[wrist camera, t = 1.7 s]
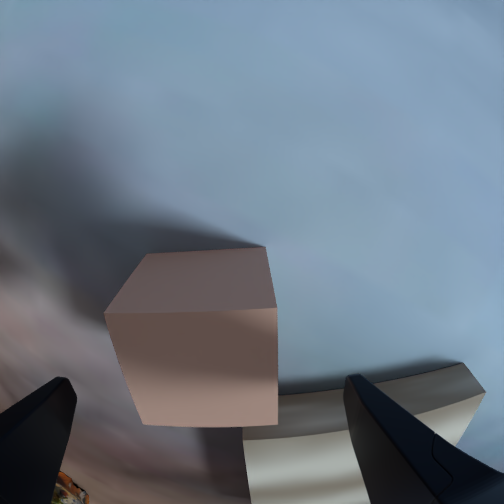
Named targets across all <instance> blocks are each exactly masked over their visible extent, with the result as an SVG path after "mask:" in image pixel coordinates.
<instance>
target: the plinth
mask: <svg viewBox="0 0 504 504" xmlns="http://www.w3.org/2000/svg"><path fill="white" fill-rule="evenodd" d="M374 385H375V386H376V387H377V388H379V389H380V390H381V391H382V392H384V393H385V394H386V395H388V396H389V397H390V398H391V399H393V400H394V401H395V402H396V403H398V404H399V405H400V406H402V407H403V408H404V409H406V410H407V411H408V412H409V413H411V414H412V415H413V416H415V417H416V418H417V419H419V420H420V421H421V422H422V423H424V424H425V425H426V426H428V427H429V428H430V429H432V430H433V431H434V432H435V433H437V434H438V435H440V436H441V437H442V438H444V439H445V440H446V441H448V442H449V443H451V444H452V445H454V446H456V444H457V443H458V441H459V439H460V438H461V436H462V435H463V433H464V431H465V430H466V428H467V426H468V424H469V423H470V421H471V419H472V418H473V416H474V414H475V412H476V410H477V408H478V407H479V405H480V403H481V401H482V399H483V397H484V395H485V393H486V391H485V390H484V389H483V387H482V386H481V385H480V383H479V382H478V381H477V379H476V378H475V377H474V376H473V374H472V373H471V372H470V370H469V369H468V368H467V367H466V365H465V364H464V363H461V364H458V365H454V366H451V367H447V368H443V369H439V370H435V371H431V372H427V373H423V374H419V375H414V376H410V377H405V378H400V379H395V380H390V381H385V382H380V383H374ZM343 392H344V388H343V389H336V390H328V391H320V392H312V393H302V394H292V395H280V396H278V425H265V426H246V427H243V447H244V455H245V462H246V469H247V476H248V483H249V490H250V496H251V503H252V504H371V503H370V500H369V497H368V494H367V490H366V487H365V484H364V481H363V477H362V474H361V471H360V468H359V465H358V462H357V458H356V455H355V452H354V449H353V446H352V442H351V438H350V433H349V428H348V422H347V417H346V412H345V407H344V402H343Z"/></svg>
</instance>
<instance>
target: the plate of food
mask: <svg viewBox="0 0 504 504" xmlns="http://www.w3.org/2000/svg"><path fill="white" fill-rule="evenodd" d="M51 504H89V495H88V494H87V495H86V491H84V492H82V491H81V490H80V488H78V489H77V488H76V487H75V486H74V485H73V481H72V479H71V478H70V477H67V476H66V475H65V474H64V473H62V472H59V474H58V478H57V482H56V486H55V489H54V493H53V498H52V502H51Z"/></svg>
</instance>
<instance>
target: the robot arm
mask: <svg viewBox="0 0 504 504" xmlns="http://www.w3.org/2000/svg"><path fill="white" fill-rule="evenodd" d="M343 402H344V407H345V412H346V417H347V422H348V428H349V433H350V438H351V442H352V446H353V449H354V452H355V455H356V458H357V462H358V465H359V468H360V471H361V474H362V477H363V481H364V484H365V487H366V490H367V494H368V497H369V500H370V503H371V504H504V473H502V472H499V471H497V470H495V469H493V468H491V467H489V466H488V465H486V464H484V463H482V462H480V461H479V460H477V459H475V458H473V457H471V456H470V455H468V454H466V453H465V452H463V451H461V450H460V449H458V448H456V447H455V446H454V445H452V444H451V443H449V442H448V441H446V440H445V439H444V438H442V437H441V436H440V435H438V434H437V433H435V432H434V431H433V430H432V429H430V428H429V427H428V426H426V425H425V424H424V423H422V422H421V421H420V420H419V419H417V418H416V417H415V416H413V415H412V414H411V413H409V412H408V411H407V410H406V409H404V408H403V407H402V406H400V405H399V404H398V403H396V402H395V401H394V400H393V399H391V398H390V397H389V396H388V395H386V394H385V393H384V392H382V391H381V390H380V389H379V388H377V387H376V386H375V385H374V384H372V383H371V382H370V381H368V380H367V379H366V378H365V377H363V376H362V375H361V374H354V375H348V376H347V377H346V380H345V386H344V392H343ZM76 403H77V396H76V393H75V391H74V389H73V387H72V385H71V383H70V381H69V379H68V378H66V377H55V378H54V379H52V380H51V381H49V382H48V383H46V384H45V385H43V386H42V387H40V388H39V389H37V390H36V391H34V392H33V393H31V394H29V395H28V396H26V397H25V398H23V399H22V400H20V401H19V402H17V403H16V404H14V405H13V406H11V407H10V408H8V409H7V410H5V411H4V412H2V413H0V504H51V502H52V498H53V493H54V489H55V486H56V482H57V478H58V474H59V471H60V467H61V463H62V460H63V456H64V453H65V450H66V446H67V443H68V440H69V436H70V432H71V427H72V422H73V417H74V412H75V408H76Z"/></svg>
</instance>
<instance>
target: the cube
mask: <svg viewBox="0 0 504 504" xmlns="http://www.w3.org/2000/svg"><path fill="white" fill-rule="evenodd" d="M103 314H104V317H105V321H106V324H107V327H108V330H109V334H110V337H111V340H112V343H113V346H114V349H115V352H116V355H117V358H118V361H119V364H120V366H121V369H122V372H123V375H124V377H125V380H126V383H127V385H128V388H129V391H130V393H131V396H132V398H133V401H134V403H135V406H136V408H137V410H138V413H139V415H140V417H141V420H142V422H143V424H144V425H158V426H177V427H246V426H265V425H278V329H277V304H276V299H275V294H274V289H273V283H272V278H271V273H270V268H269V263H268V257H267V252H266V247H254V248H237V249H219V250H202V251H185V252H167V253H151V254H146V255H145V257H144V258H143V259H142V261H141V262H140V263H139V264H138V266H137V267H136V269H135V270H134V271H133V273H132V274H131V275H130V277H129V278H128V279H127V281H126V282H125V283H124V285H123V286H122V288H121V289H120V290H119V292H118V293H117V295H116V296H115V297H114V299H113V300H112V302H111V303H110V304H109V306H108V307H107V309H106V310H105V312H104V313H103Z"/></svg>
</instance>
